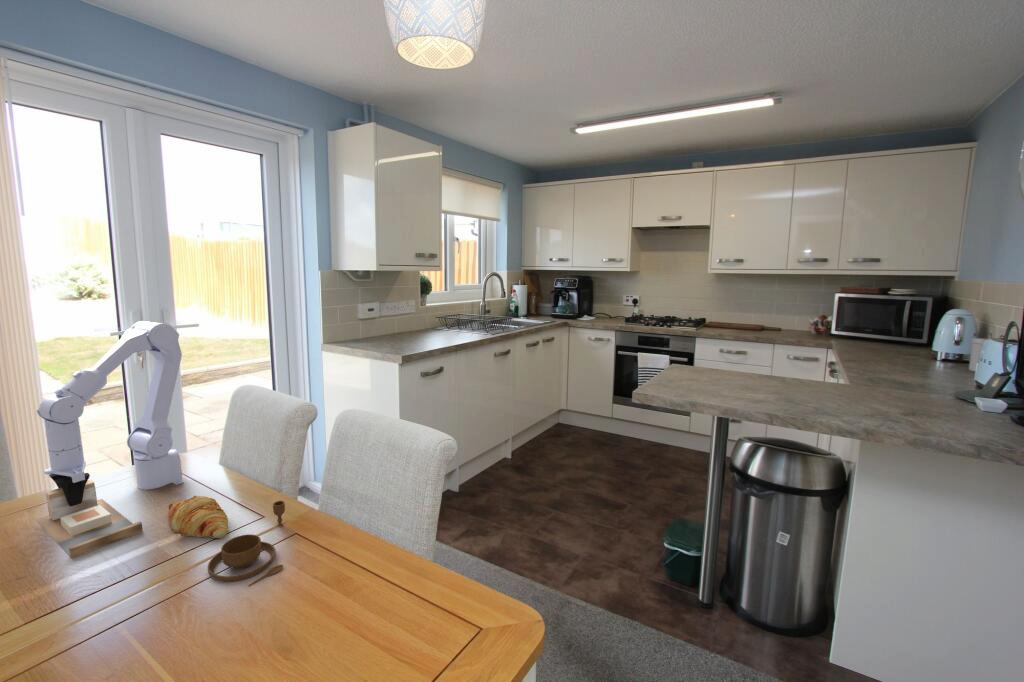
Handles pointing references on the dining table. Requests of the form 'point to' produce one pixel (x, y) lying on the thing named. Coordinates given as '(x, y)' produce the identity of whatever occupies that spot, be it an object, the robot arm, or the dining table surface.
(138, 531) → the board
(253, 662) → the dining table surface
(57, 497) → the light wood block
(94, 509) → the tile
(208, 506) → the croissant
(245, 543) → the place setting
